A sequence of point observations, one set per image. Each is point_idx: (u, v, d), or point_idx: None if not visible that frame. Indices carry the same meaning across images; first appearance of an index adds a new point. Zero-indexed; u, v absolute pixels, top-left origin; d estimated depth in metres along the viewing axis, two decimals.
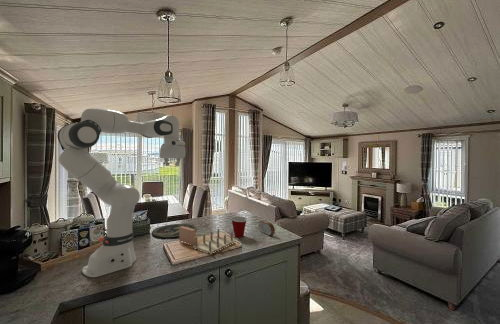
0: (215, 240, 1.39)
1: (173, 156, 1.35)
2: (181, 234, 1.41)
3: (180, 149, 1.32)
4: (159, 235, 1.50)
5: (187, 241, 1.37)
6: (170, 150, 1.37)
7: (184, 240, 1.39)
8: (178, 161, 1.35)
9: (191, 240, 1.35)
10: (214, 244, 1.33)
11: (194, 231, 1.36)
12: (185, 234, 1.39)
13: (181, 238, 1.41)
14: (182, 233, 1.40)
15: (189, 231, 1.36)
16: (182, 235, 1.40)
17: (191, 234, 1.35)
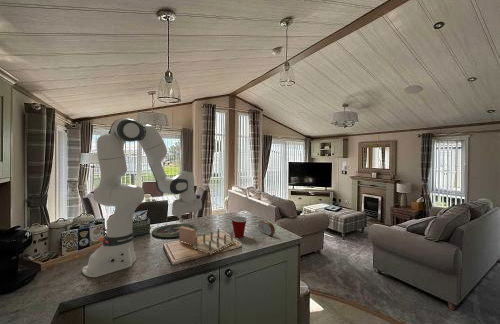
0: (215, 240, 1.39)
1: (194, 209, 1.41)
2: (181, 234, 1.41)
3: None
4: (159, 235, 1.50)
5: (187, 241, 1.37)
6: (189, 204, 1.39)
7: (184, 240, 1.39)
8: None
9: (191, 240, 1.35)
10: (214, 244, 1.33)
11: (194, 231, 1.36)
12: (185, 234, 1.39)
13: (181, 238, 1.41)
14: (183, 233, 1.40)
15: (189, 231, 1.36)
16: (182, 235, 1.40)
17: (191, 234, 1.35)
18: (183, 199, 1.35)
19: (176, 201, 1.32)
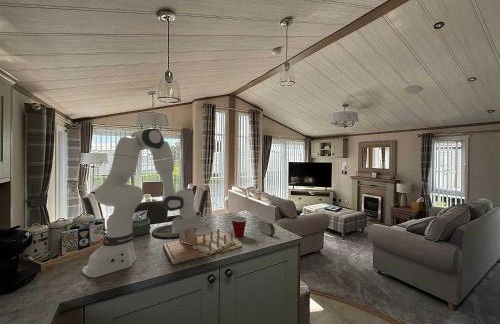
0: (215, 240, 1.39)
1: (193, 226, 1.41)
2: (181, 234, 1.41)
3: None
4: (159, 235, 1.50)
5: (187, 241, 1.37)
6: (189, 222, 1.39)
7: (184, 240, 1.39)
8: None
9: (191, 240, 1.35)
10: (214, 244, 1.33)
11: (194, 231, 1.36)
12: (185, 234, 1.39)
13: (181, 238, 1.41)
14: None
15: (189, 231, 1.36)
16: (182, 235, 1.40)
17: (191, 234, 1.35)
18: (183, 216, 1.35)
19: (176, 219, 1.32)
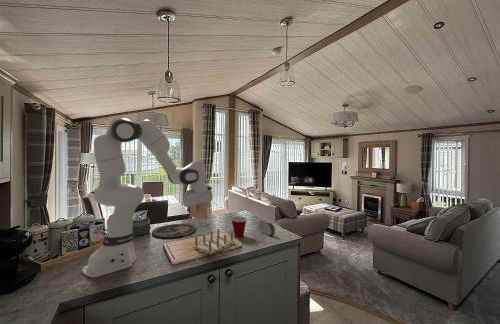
0: (215, 240, 1.39)
1: (205, 201, 1.39)
2: (192, 209, 1.38)
3: None
4: (159, 235, 1.50)
5: (198, 215, 1.35)
6: (201, 196, 1.36)
7: (195, 214, 1.37)
8: None
9: (203, 214, 1.33)
10: (214, 244, 1.33)
11: (206, 205, 1.34)
12: None
13: (192, 213, 1.38)
14: None
15: (201, 205, 1.34)
16: (193, 210, 1.38)
17: (203, 208, 1.33)
18: (194, 190, 1.32)
19: (188, 192, 1.30)
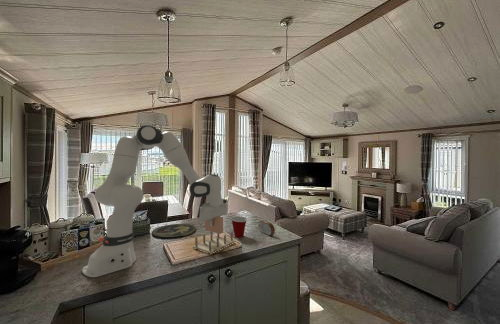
0: (215, 240, 1.39)
1: (220, 214, 1.36)
2: (207, 222, 1.36)
3: None
4: (159, 235, 1.50)
5: (214, 229, 1.32)
6: (216, 209, 1.34)
7: (211, 228, 1.34)
8: None
9: (219, 228, 1.30)
10: (214, 244, 1.33)
11: (222, 219, 1.31)
12: None
13: (207, 226, 1.36)
14: None
15: (216, 219, 1.31)
16: (209, 223, 1.35)
17: (219, 222, 1.30)
18: (211, 204, 1.30)
19: (204, 206, 1.27)
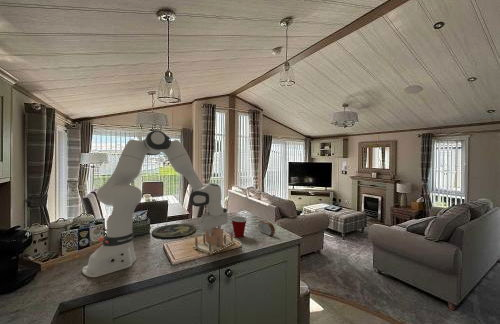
0: None
1: (220, 224, 1.36)
2: (207, 234, 1.36)
3: None
4: (159, 235, 1.50)
5: (214, 241, 1.32)
6: (216, 219, 1.34)
7: (211, 240, 1.34)
8: None
9: (219, 240, 1.30)
10: (214, 244, 1.33)
11: (222, 231, 1.31)
12: None
13: (207, 238, 1.36)
14: None
15: (217, 231, 1.31)
16: None
17: (219, 234, 1.30)
18: (211, 213, 1.30)
19: (204, 215, 1.27)
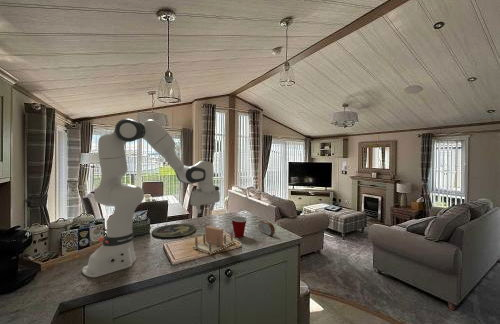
0: None
1: (212, 201, 1.36)
2: (207, 234, 1.36)
3: None
4: (159, 235, 1.50)
5: (214, 241, 1.32)
6: (208, 196, 1.34)
7: (211, 240, 1.34)
8: None
9: (219, 240, 1.30)
10: (214, 244, 1.33)
11: (222, 231, 1.31)
12: (211, 234, 1.34)
13: (207, 238, 1.36)
14: (209, 233, 1.35)
15: (217, 231, 1.31)
16: (209, 235, 1.35)
17: (219, 234, 1.30)
18: (202, 189, 1.30)
19: (195, 191, 1.28)
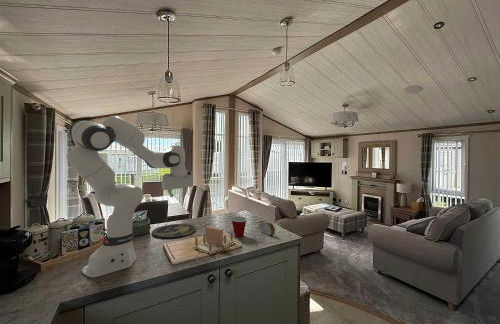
0: None
1: (184, 186, 1.39)
2: (207, 234, 1.36)
3: None
4: (159, 235, 1.50)
5: (214, 241, 1.32)
6: (180, 180, 1.37)
7: (211, 240, 1.34)
8: None
9: (219, 240, 1.30)
10: (214, 244, 1.33)
11: (222, 231, 1.31)
12: (211, 234, 1.34)
13: (207, 238, 1.36)
14: (209, 233, 1.35)
15: (217, 231, 1.31)
16: (209, 235, 1.35)
17: (219, 234, 1.30)
18: (173, 174, 1.33)
19: (166, 175, 1.30)
